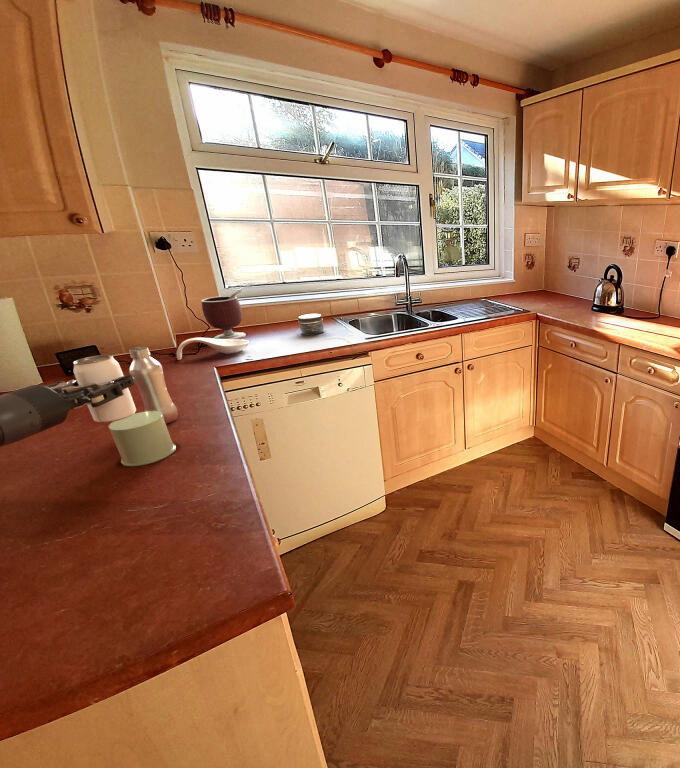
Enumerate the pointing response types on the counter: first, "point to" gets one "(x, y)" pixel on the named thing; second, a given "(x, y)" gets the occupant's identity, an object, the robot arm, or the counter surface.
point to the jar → (311, 324)
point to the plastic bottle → (151, 383)
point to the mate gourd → (224, 315)
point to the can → (100, 372)
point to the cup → (142, 438)
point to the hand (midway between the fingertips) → (115, 379)
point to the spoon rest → (217, 345)
